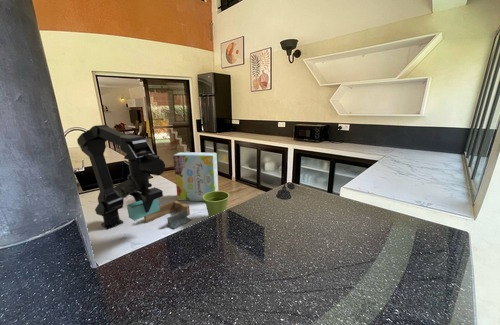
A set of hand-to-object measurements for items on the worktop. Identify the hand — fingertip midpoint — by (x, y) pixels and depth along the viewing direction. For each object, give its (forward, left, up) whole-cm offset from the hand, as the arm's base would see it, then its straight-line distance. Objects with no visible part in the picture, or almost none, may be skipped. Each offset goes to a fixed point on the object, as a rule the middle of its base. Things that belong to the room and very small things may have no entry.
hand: (144, 210), depth 80 cm
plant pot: (+13, +26, -12) cm, 31 cm away
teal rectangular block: (0, 0, -1) cm, 1 cm away
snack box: (-11, +36, -12) cm, 39 cm away
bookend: (+2, +13, -11) cm, 18 cm away
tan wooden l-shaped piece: (-5, +13, -11) cm, 18 cm away
